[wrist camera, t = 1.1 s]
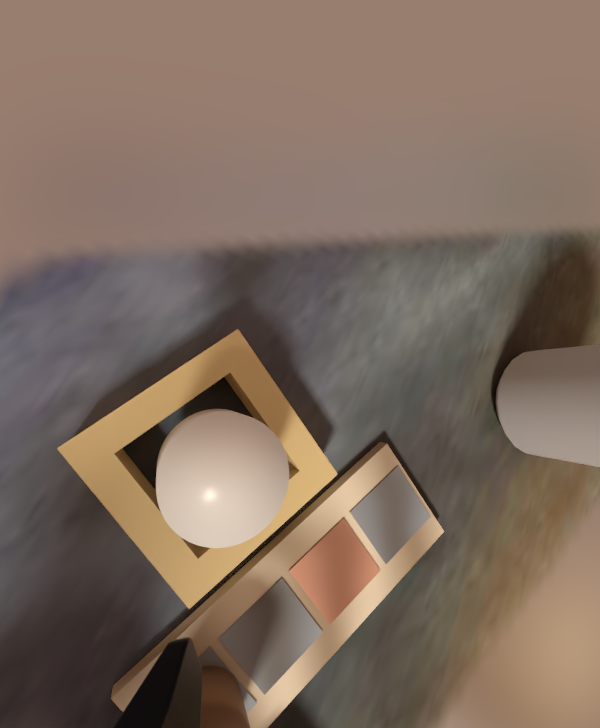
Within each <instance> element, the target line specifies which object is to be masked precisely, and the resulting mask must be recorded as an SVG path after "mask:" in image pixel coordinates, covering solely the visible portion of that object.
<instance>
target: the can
mask: <svg viewBox="0 0 600 728" xmlns="http://www.w3.org/2000/svg"><path fill="white" fill-rule="evenodd" d="M495 404H496V411H497V416H498V419H499V421H500V423H501V426H502V428H503V429H504V432H505V434H506V436H507V437H508V438H509V440H510V441H511V442H512V443H513V445H514V446H515V447H516V448H518V449H520V450H521V451H523V452H524V453H526V454H531V455H537V456H542V457H548V458H553V459H558V460H564V461H569V462H575V463H580V464H586V465H591V466H597V467H600V344H598V345H588V346H577V347H567V348H557V349H546V350H536V351H529V352H523V353H522V354H520V355H519V356H517V357H516V358H514V359H513V360H512V361H511V362H510V364H509V365H508V366H507V368H506V369H505V370H504V373H503V375H502V377H501V378H500V381H499V384H498V387H497V389H496V400H495Z"/></svg>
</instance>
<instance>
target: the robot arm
mask: <svg viewBox="0 0 600 728" xmlns="http://www.w3.org/2000/svg"><path fill="white" fill-rule="evenodd" d="M201 701H202V667H201V663H200V660H199V658H198V655H197V652H196V649H195V646H194V644H193V641H192V639H191V638H190V637H183V638H179V639H175V640H172V641H170V642H169V643H168V644H167V645H166V647H165V648H164V650H163V651H162V653H161V654H160V656H159V658H158V659H157V661H156V662H155V664H154V665H153V667H152V668H151V670H150V671H149V673H148V675H147V676H146V678H145V679H144V681H143V682H142V684H141V685H140V687H139V688H138V690H137V692H136V693H135V695H134V696H133V698H132V699H131V701H130V702H129V704H128V705H127V707H126V709H125V710H124V712H123V713H122V715H121V716H120V718H119V719H118V721H117V723H116V724H115V726H114V727H113V728H200V724H201Z"/></svg>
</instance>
